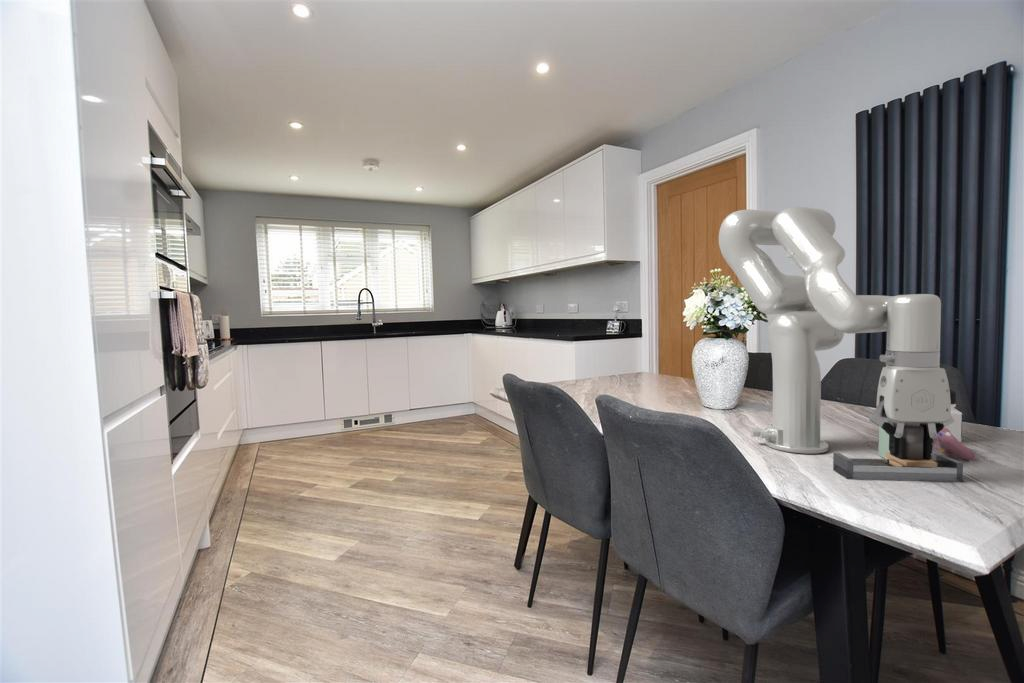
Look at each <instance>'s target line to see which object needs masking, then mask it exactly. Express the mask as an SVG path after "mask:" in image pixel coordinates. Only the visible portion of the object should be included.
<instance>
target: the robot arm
mask: <svg viewBox="0 0 1024 683" xmlns="http://www.w3.org/2000/svg"><path fill="white" fill-rule="evenodd" d="M836 228H837V226H836V220H835V219H834V216H833V215H832V214H831V213H830V212H828V211H827V210H825V209H821V208H812V207H804V206H792V207H788V208H786V209H783V210H782V211H770V210H761V209H740V210H737V211H734V212H731V213H730V214H728V215H727V216H726V217H725V218H724V219H723V221H722V222H721V225H720V227H719V232H718V246H719V249H720V252H721V256H722V257H723V259H724V260H725V262H726V264H727V265H728V266H729V267H730V268H731V270H732V272H734V274H735V275H736V277H737V279H738V281H739V282H740V284H741V285H742V287H743V289H744V290H745V292H746V293H747V295H748V297H749V299H750V300H751V301H752V304H754V306H755V308H756V309H757V310H758V311H759V312H761V313H763V314H766V315H777V316H776V317H775V318H774V319H773V320H772V321H771V322H770V324H769V326H768V330H767V331H768V332H767V338H768V339H767V340H768V345H769V350H770V353H771V362H772V424H771V423H770V424H768V426H767V427H764V428H750V432H749V433H750V436H751V437H758V438H759V437H760V439H764V440H765V441H764V442H765V445H766V446H768V447H770V448H772V449H774V450H778V451H782V452H788V453H796V454H807V455H814V454H822V453H826V452H828V451H829V444H828V443H827V442H826V441H823V440H821V413H822V412H821V408H822V406H821V404H822V402H821V401H822V398H821V397H822V394H821V392H822V388H821V387H822V382H821V380H822V379H821V378H822V377H821V376H822V375H821V373H822V372H821V367H820V362H819V360H818V358H817V354H816V352H819V351H828V350H831V349H834V348H835V347H837V346H838V345H840V343H841V342H842V341H843V339H844V336H845V334H848V335H849V334H864V333H865V334H869V333H883V332H886V351H885V354H880V355H879V361H880V362H882V363H885V365H886V366H882V369H881V372H880V375H879V381H878V385H877V394H876V407H875V409H874V411H873V412H872V414H871V415H870V416H869V418H868V419H869V422H871V423H874V424H875V425H878V427H879V426H880V427H881V428H882V429H883V430H885V431H886V433H887V434H889V451H890V454H891V455H893V456H895V457H897V458H899V459H904V458H905V445H906V440H905V438H902V434H903V429H904V424H905V423H918V425H919V426H923V427H924V439H923V458H925V459H930V460H932V454H933V449H934V448H933V445H934V443H933V438H936V437H937V433H938V432H940V431H941V430H942V429H943V428H944V427H946V426H948V425H950V424H952V423H953V422H954V419H953V417H952V416H951V400H950V390H951V389H950V384H949V380H948V375H947V372H946V369H945V368H943V367H940V361H941V360H940V358H941V320H942V313H941V312H942V301H941V298H940V297H939V296H938V295H935V294H930V293H917V294H915V293H913V294H912V293H911V294H910V293H909V294H898V295H894V296H890V295H879V294H875V295H874V294H873V295H872V294H871V295H869V294H866V295H865V294H864V295H863V294H856V293H855V292H854V291H853V290H852V289H851V288H850V287H849V285H848V284H847V283H846V282H845V281H844V279H843V278H842V276H841V275H840V273H839V270H838V266H840V264H841V263H842V262H843V261H844V259H845V257H846V250H845V249H844V247H843V246H842V245H841V244H840V243H839V242H838V241H837V240H836V239H835V238H834V236H833V235H835V231H836ZM759 246H781V247H782V248H783V249H784V250H785V251H786V253H787V254H788V255H789V256H790V258H791V259H792V260H793V261H794V263H795V264H796V265H797V266H798V268H799V269H800V270H801V272H802V273H803V274H804V276H800V275H787V274H784V273H782V272H781V271H780V269H779V268H778V266H776V265H775V263H774V261H773V260H772V258H771V257H770V256H769V255H768V254H767V253H766V252H765V251H763V249H761V248H760V247H759ZM949 389H950V390H949ZM883 417H884V418H888V421H887V422H886V421H884V420H883Z"/></svg>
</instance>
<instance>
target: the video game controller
mask: <svg viewBox="0 0 1024 683" xmlns="http://www.w3.org/2000/svg"><path fill="white" fill-rule="evenodd" d="M933 445H935V446H936V448H937V449H938V450H939V451H940V453H943V454H944V455H945V456H947V457H949V456H952V455H954V456H955V457H957V458H960V459H962V460H965V461H969V460H972V461H974V460H975V458H976V453H974V451H973V450H972V449H970V448H969V447H967V446H965V445H964V443H962V442H961V443H960V442H959V441H958V440H957V439H956V438H955V437H954V436H953V435H952V434H951V433H950V431H949V430H948V429H947V428H943V429H942V430H941V431H940V432H938V433H937V437H936V438H933Z"/></svg>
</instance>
